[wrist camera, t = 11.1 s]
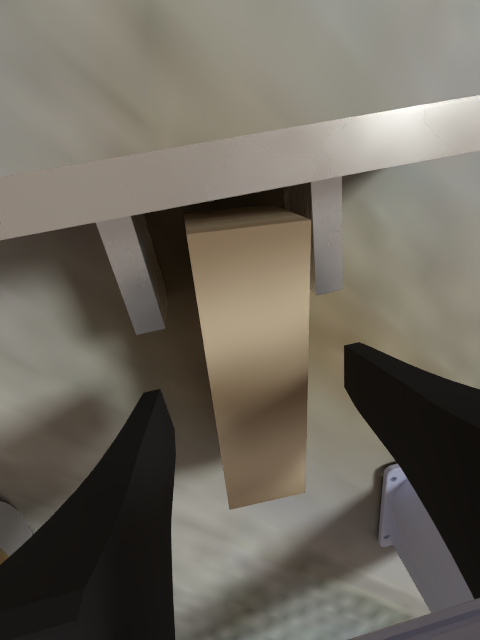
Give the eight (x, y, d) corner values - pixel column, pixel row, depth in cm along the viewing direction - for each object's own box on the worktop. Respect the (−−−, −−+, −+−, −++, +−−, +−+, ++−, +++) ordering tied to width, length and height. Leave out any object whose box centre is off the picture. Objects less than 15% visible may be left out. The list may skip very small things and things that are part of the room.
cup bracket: (43, 323, 13) (-28, 403, 9) (-25, 190, 11) (-171, 206, 6) (399, 248, 14) (497, 283, 10) (410, 115, 12) (545, 83, 8)
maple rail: (277, 421, 18) (305, 492, 14) (218, 432, 18) (229, 509, 14) (269, 203, 13) (311, 220, 9) (183, 212, 12) (186, 234, 8)
